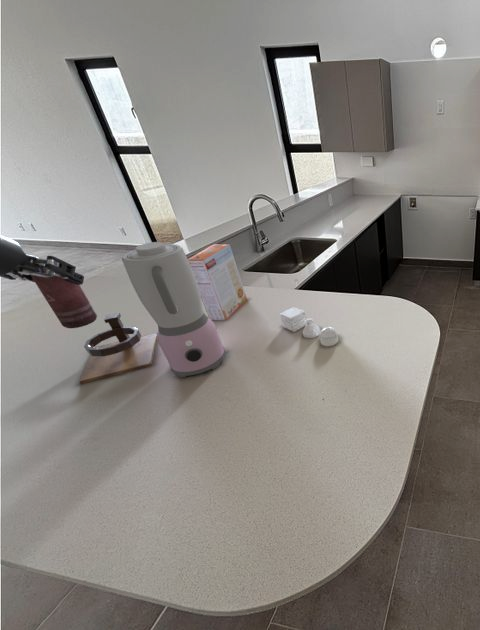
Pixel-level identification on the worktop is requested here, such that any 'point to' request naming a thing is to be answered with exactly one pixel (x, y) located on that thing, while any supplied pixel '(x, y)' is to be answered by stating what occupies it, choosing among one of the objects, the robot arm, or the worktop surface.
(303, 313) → the container set
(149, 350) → the stand
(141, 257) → the blender
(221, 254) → the cracker box
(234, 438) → the worktop surface
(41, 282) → the can
